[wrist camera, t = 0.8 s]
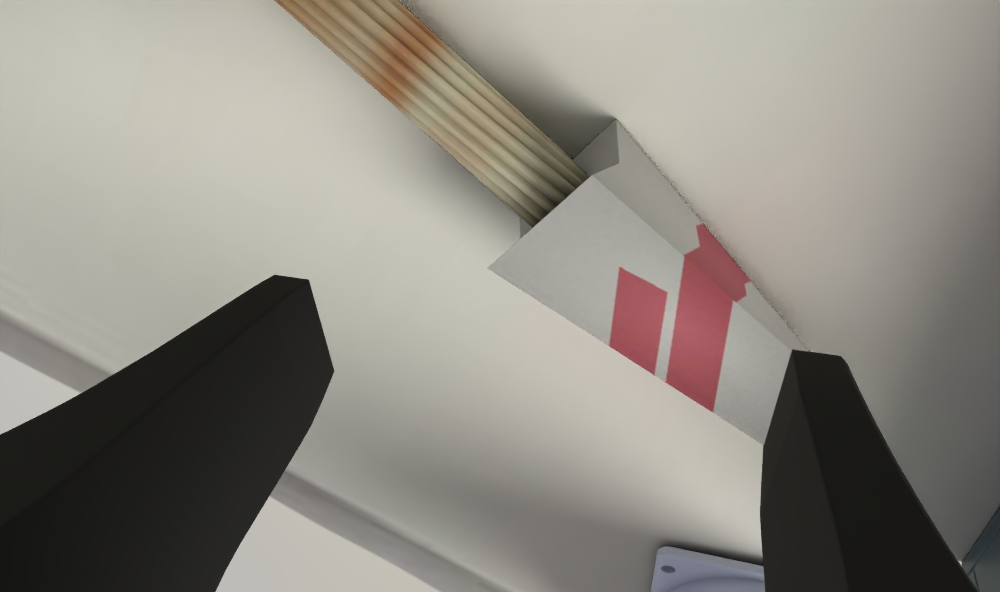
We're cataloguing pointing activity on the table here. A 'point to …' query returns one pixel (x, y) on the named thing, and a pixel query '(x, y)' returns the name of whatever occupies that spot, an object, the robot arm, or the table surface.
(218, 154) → the table surface
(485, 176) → the paintbrush
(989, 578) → the tub
